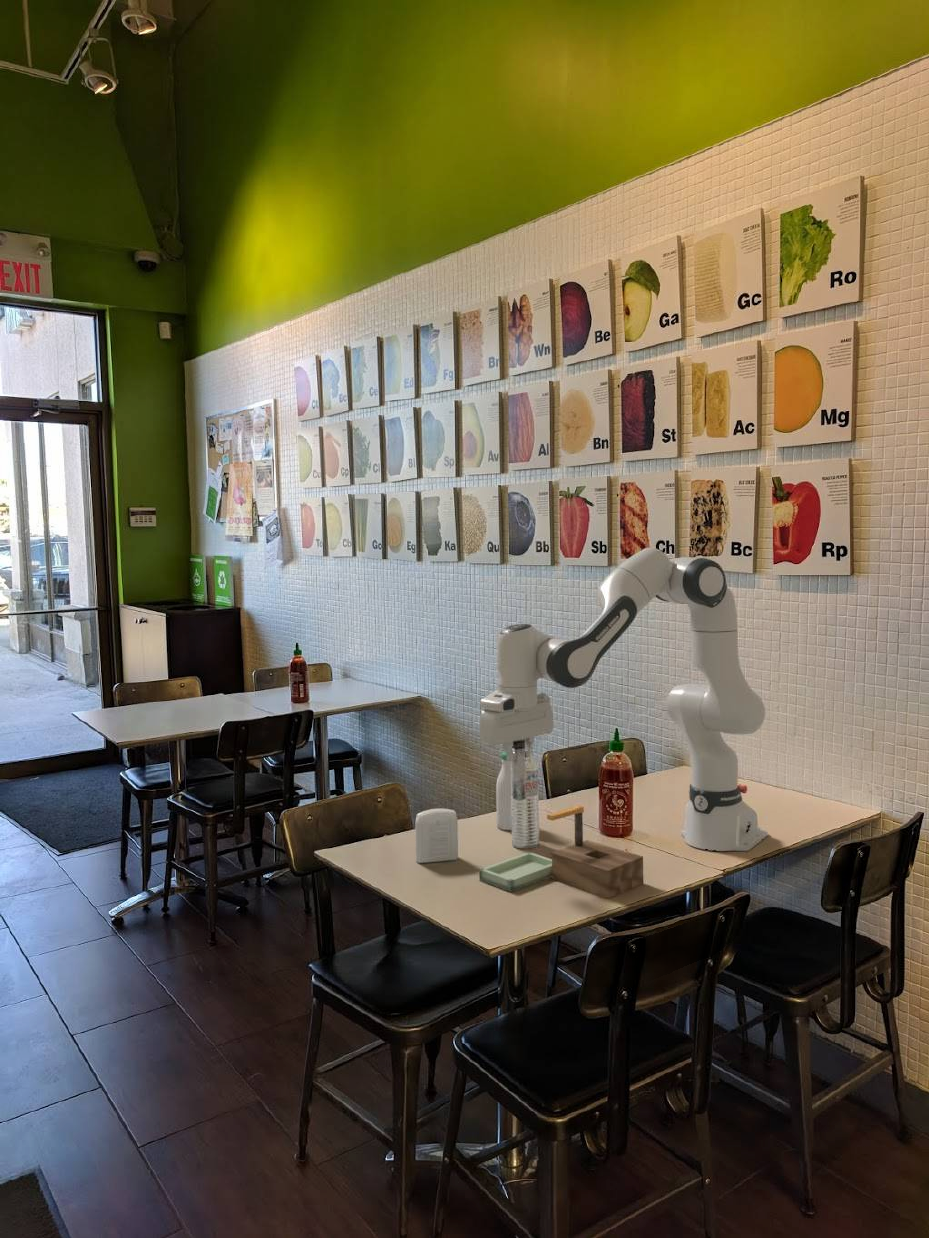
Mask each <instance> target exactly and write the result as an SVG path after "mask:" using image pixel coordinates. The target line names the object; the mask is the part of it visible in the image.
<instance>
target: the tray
mask: <svg viewBox="0 0 929 1238" xmlns="http://www.w3.org/2000/svg"><path fill="white" fill-rule="evenodd" d="M478 872H479V873H478V874H479V877H478V878H479V881H480V882H483V883H486V884H488V885H491V886H494V887H496V888H498V889H501V890H504V891H507V892H509V893H513V892H516V891H518V890H521V889H523V888H526V887H529V886H531V885H533V884H536V883H539V882H541V881H544V880H547V879H549V878H552V858H549V857H546V856H542V855H540V854H537V853H534V852H530V851H528V852H525V853H522V854H519V855H517V856H513V857H511V858H508V859H506V860H505V859H504V860H502V861H500V862H496V863H494V864H491V865H488V866H485V867H482V868H479V869H478ZM546 878H547V879H546Z"/></svg>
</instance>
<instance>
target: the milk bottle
mask: <svg viewBox="0 0 929 1238" xmlns="http://www.w3.org/2000/svg"><path fill="white" fill-rule="evenodd" d="M500 754H501V755H500V757H501V763H502V765H501V768H500V771H499V774H498V776H497V779H496V787H495V790H496V792H495V794H496V795H495V796H496V797H495V798H496V800H495V801H496V826H497V828H498V829H500V830H502V831H510V832H512V825H511V824H512V822H511V820H512V819H511V769H510V763H511V761H507V759H506V752H505V751H503V752H501V753H500Z"/></svg>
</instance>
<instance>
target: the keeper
mask: <svg viewBox="0 0 929 1238" xmlns="http://www.w3.org/2000/svg"><path fill="white" fill-rule="evenodd" d="M584 812H585V807H584V806H581V805H574V806H573V807H570V808H566V809H562V810H559V811H555V812H551V813H548V814H546V819H547V820H548V821H556V820H559V819H563V818H567V817H570V816H575V814H577V813H582V814H583V813H584Z"/></svg>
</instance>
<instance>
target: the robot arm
mask: <svg viewBox="0 0 929 1238" xmlns="http://www.w3.org/2000/svg"><path fill="white" fill-rule="evenodd" d="M654 598H656V599H658V600H660V601H663V602H671V603H674V604H675V603H676V604H679V605H680V604H681V605H685V604H686V605H687V606H688V609H689V611H690V625H689V626H690V661H691V662H692V664H693V666H694V667H695V668H696V669H698V670H699V671H700V672H701V673H702V674H703V676H704V677H705V679H706V681H707V684H702V683H695V682H694V683H685V684H678V685H676V686H674V687H673V688H672V689H670V691H669V692H668V693H669V694H668V696H667V699H666V710H667V714H668V716H669V718H670V719H671V720H672V721H673V722H674V723H675V724H676V725H677V727H678V728H679V729H680V731H681V733H682V735H683V736H684V737H683V738H684V739H685V742H686V745H687V747H688V751H689V757H690V771H691V773H690V776H691V782H690V784H689V790H688V794H689V796H688V797H689V800H690V801H689V802H688V803H687V804H686V809H685V810H686V811H685V822H684V828H683V829H682V830H681V832H680V835H681V834H682V835H683V836H682V835H681V836H682V837H684V842H685V843H686V844H687V845H689V846H691V847H694V848H696V849H697V848H698V849H700V850H705V849H708V850H707V851H713V850H716V852H727V851H729V852H730V851H737V852H748V850H749V851H750V850H751V849H753V848H754V847H755V846H756V845H758V844H759V843H760V842H762V841H763V840H764V839H766V837H768V834H769V833H768V831H767V830H766V829H764V828H762V827H759V823H758V815H757V812H756V811H755V810H754V809H753V808H751V806H749V805H748V803H746V802H744V801H743V797H742V794H747V791H748V790H749V789H748V788H749V787H748V786H747V785H746V784H741V783H739V781H738V779H739V773H738V772H739V771H738V769H739V766H738V765H739V762H738V761H739V760H738V755H737V753H736V752H735V751H734V750H733V748H732V747H730V746H729V745H728V744H727V742H726V741H725V739H723V738H724V737H722V734H721V733H723V734H730V735H748V734H749V735H750V734H754V733H756V732H757V731H758V730H759V729H760V728H761V726H762V725H763V723H764V721H765V717H766V707H765V704H764V702H763V700H762V698H761V697H760V695H758V694H757V693H756V692H755V691H754V690H753V689H752V687H750V685H749V683H748V682H747V680H746V678H745V676H744V673H743V671H742V668H741V664H740V658H739V642H738V640H739V639H738V614H737V608H736V607H737V606H736V600H735V596H734V593H733V591H732V590H731V589H730V588H729V587H728V586H727V579H726V574H725V571H724V570H723V567H722V566H721V565H720V563H718V562H716V561H714V560H713V559H710V558H706V557H705V558H704V557H694V556H693V557H691V556H682V557H675V558H673V557H671V558H669V557H668V555H666V554H665V553H664V552H663V551H662V550H660V549H658V548H655V547H646V548H643V549H642V550H640V551H637V552H635V553H634V554H633V555H631V556H629V557H628V558H627V559H626V560H624V561H623V562H622V563H620V564H619V565H618V566H617V567H616V568H615V569H613V570H612V571H611V573H609V574H607V576H606V577H605V578H604V579H603V581H602V582H601V583H600V585H599V586H598V589H597V602H598V604H599V606H600V608H601V609H602V612H601V614H600V615H599V616H598V617H597V618H596V620H595V621H594V622H593V623H592V624H591V625H590V626H589V627H588V628H587V629H586V630H585V631H584V632H583V633H582V635H580V636H578V637H576V638H572V639H563V638H558V637H555V636H552V635H549V634H546V633H544V632H541V631H539V630H538V629H536V628H535V627H534V626H533V625H532V624H530V623H520V624H519V623H518V624H512V625H509V626H507V627H504V628H503V629H501V631H500V632H499V634H498V638H497V642H496V643H497V645H496V667H497V668H496V669H497V670H498V671H497V672H498V677H497V678H498V679H497V682H496V688H497V689H495V690H493V691H492V692H491V693H489V694H488V695H487V696H485V697H483V698H482V699H480V702H479V706H480V709H482V710H483V711H481V714H480V717H479V740H480V742H481V743H482V744H483V745H485V746H489V747H495V746H500V745H501V746H502V748H503V750H504V752H506V759H507V761H515V760H516V759H517V758H516V756H517V754H516V753H515V752H513V750H512V746H513V741H517V740H525V758H527V757H530V754H531V750H532V748H533V745H534V742H535V737H540V736H542V735H547V734H551V733H552V732H553V730H554V729H555V728H554V724H555V723H554V715H553V709H552V705H551V698H550V697H549V695H548V694H546V692H541V693H538V680H539V679H545V680H547V681H550V682H553V683H556V684H557V685H561V686H562V687H564V688H567V689H573V688H574V689H575V688H578V687H581V686H583V685H584V684H586V683H587V682H588V681H589V680H590V679H591V678H592V676H593V674H594V672H595V670H596V668H597V666H598V664H599V662H600V660H601V659H602V657H603V656H604V655H605V654H606V652H608V651H609V650H610V648H611V647H612V646H613V645H614V644H616V641H618V640H619V638H621V636H622V635H623V634H624V633H625V631H627V630H628V629H629V627H630V626H631V625H632V623H633V621H635V619H636V616H637V615H638V614H639V613H640V612H641V611H642V610H643V609H644V608H645V607H646V606H648V604H649V603H650V602H651V601H653V599H654ZM738 783H739V784H738ZM762 839H763V840H762ZM757 843H758V844H757Z"/></svg>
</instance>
